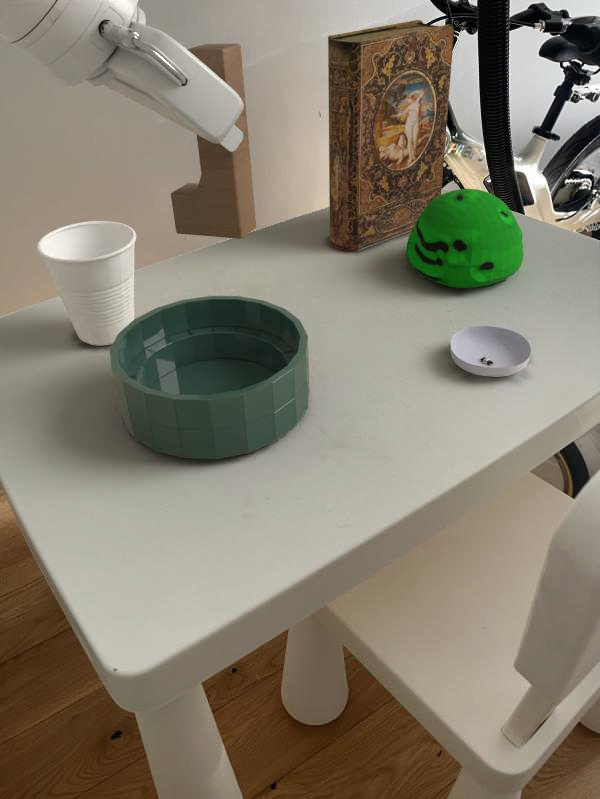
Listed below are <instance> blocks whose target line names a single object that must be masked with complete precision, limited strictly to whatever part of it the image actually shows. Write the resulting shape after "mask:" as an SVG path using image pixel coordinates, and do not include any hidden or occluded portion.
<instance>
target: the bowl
mask: <svg viewBox="0 0 600 799" xmlns="http://www.w3.org/2000/svg"><path fill="white" fill-rule="evenodd" d="M109 359H110V368H111V373H112V378H113V382H114V386H115V391H116V395H117V396H116V397H117V401H118V406H119V409H120V414H121V418H122V422H123V424H124V426H125V427H126V429H127V430H128V432H129V433H130V435H131V436H132V437H133V438H134V439H135V440H136V441H137V442H139V443H141V444H143V445H144V446H146V447H147V448H149V449H151V450H153V451H154V452H157V453H161V454H164V455H169V456H173V457H177V458H181V459H208V460H218V459H225V458H229V457H235V456H239V455H245V454H249V453H252V452H254V451H257V450H260V449H261V448H265V447H266V446H268V445H271V444H274V443H275V442H277V441H278V440H280V439H282V437H284V436H286V434H288V433H289V432H291V431H292V430H293V429H294V428H295V427H297V426H298V424H299V423H300V421H301V420H302V418H303V416H304V415H305V413H306V411H307V410H308V408H309V401H310V400H309V399H310V365H309V362H310V361H309V335H308V333H307V331H306V329H305V327H304V325H303V323H302V321H301V320H300V319H299V318H298V317H297V316H296V315H294V314H293V313H291V312H290V311H289V310H287V309H286V308H284V307H281V306H280V305H277V304H274V303H271V302H269V301H267V300H264V299H258V298H252V297H245V296H240V295H208V296H207V295H206V296H200V297H193V298H186V299H181V300H178V301H174V302H171V303H168V304H165V305H161V306H158V307H155V308H154V309H152V310H150V311H148V312H145V313H143V314H142V315H139V316H138V317H136V318H134V320H133V321H132V322H131V323H130V324H128V325H127V326H126V327H125V328H124V329H123V330H122V331H120V332H119V333H118V335H117V337H116V339H115V341H114V343H113V344H111V345H110V349H109Z"/></svg>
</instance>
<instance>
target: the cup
mask: <svg viewBox="0 0 600 799" xmlns="http://www.w3.org/2000/svg"><path fill="white" fill-rule="evenodd" d="M136 240H137V232H136V230H134V229H133V227H131V226H129V225H128V224H124V223H123V222H122V223H121V222H117V221H109V220H89V221H82V222H76V223H71V224H68V225H65V226H61V227H59V228H56V229H54V230H52V231H50V232H48V233H46V234H45V235H44V236H42V237H41V238H40V239H39V241H38V242H37V244H36V251H37V253H38V255H39V256H41V258H42V259H43V262H44V264H45V266H46V269H47V271H48V273H49V275H50V277H51V279H52V282H53V284H54V286H55V288H56V290H57V293H58V295H59V297H60V300H61V302H62V304H63V306H64V308H65V310H66V313H67V315H68V317H69V319H70V322H71V324H72V326H73V329H74V331H75V333H76V336H77V338H78V339H79V340H80V341H82V342H84V343H86V344H88V345H91V346H97V347H98V346H99V347H100V346H101V347H102V346H112V344H113V343H114V341H115V339H116V337H117V335H118V333H119V332H120V331H122V330H123V329H124V328H125V327H126V326H127V325H128V324H130V323H131V322H132V321H133V320H135V243H136Z"/></svg>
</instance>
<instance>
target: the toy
mask: <svg viewBox="0 0 600 799" xmlns="http://www.w3.org/2000/svg"><path fill="white" fill-rule="evenodd" d="M405 256H406V258H407V261H408V263H409V265H410V266H411V268H412V269H413V270H415V271H416V273H418V274H420V275H421V276H422V277H425V278H426V279H429V280H430V281H432V282H435V283H437V284H441V285H443V286H447V287H450V288H454V289H470V288H479V287H485V286H489V285H492V284H496V283H499V282H501V281H505V280H507V279H508V278H510V277H512V276H513V275H515V274H516V272H518V271H519V269H520V268H521V266H522V264H523V260H524V244H523V230H522V228H521V227H520V225H519V224H518V222H517V219H516V217H515V215H514V213H513V212H512V210H511V208H509V206H508V205H507V204H506V203H505V202H504V201H503V200H502V199H500V198H499V197H497V196H496V195H494V194H492V193H491V192H488V191H486V190H482V189H478V188H477V189H475V188H461V189H454V190H451V191H448V192H446V193H441V195H440V196H438V197H436V198H435V199H433V200H432V201H431V202H430V203H429V204H428V206H427V207H426V208H425V209H424V210H423V212H422V213H421V215H420V216H419V218H418V220H417V222H416V224H415V226H414V228H413V230H412V231H410V234H409V235H408V239H407V243H406V252H405Z"/></svg>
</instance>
